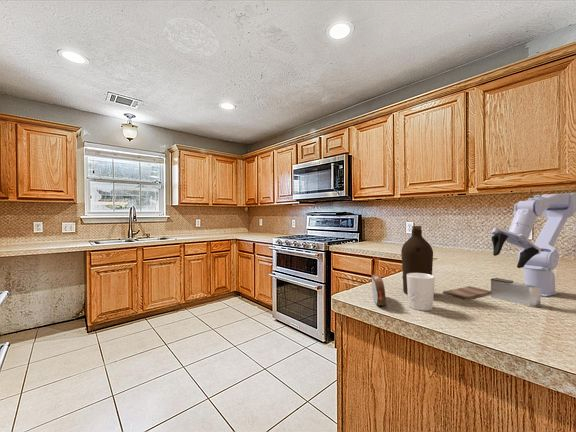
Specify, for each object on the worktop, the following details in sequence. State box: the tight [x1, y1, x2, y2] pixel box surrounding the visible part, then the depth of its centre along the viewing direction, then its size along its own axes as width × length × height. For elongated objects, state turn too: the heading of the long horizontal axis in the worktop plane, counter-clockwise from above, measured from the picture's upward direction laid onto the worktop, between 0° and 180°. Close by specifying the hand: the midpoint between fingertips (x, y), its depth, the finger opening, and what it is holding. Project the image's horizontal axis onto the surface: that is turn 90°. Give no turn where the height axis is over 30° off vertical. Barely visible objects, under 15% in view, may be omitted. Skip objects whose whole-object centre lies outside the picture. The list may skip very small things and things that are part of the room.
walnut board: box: [442, 286, 491, 300], centre depth 97 cm, size 16×8×1 cm, turn 115°
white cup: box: [407, 273, 435, 312], centre depth 83 cm, size 8×8×10 cm
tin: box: [370, 274, 387, 307], centre depth 89 cm, size 15×3×8 cm, turn 168°
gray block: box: [490, 277, 542, 309], centre depth 88 cm, size 4×13×6 cm, turn 25°
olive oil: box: [400, 225, 434, 295], centre depth 98 cm, size 11×11×25 cm
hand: (507, 260), depth 88 cm, fingers open, 7 cm apart
